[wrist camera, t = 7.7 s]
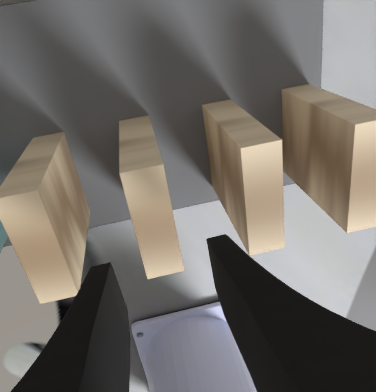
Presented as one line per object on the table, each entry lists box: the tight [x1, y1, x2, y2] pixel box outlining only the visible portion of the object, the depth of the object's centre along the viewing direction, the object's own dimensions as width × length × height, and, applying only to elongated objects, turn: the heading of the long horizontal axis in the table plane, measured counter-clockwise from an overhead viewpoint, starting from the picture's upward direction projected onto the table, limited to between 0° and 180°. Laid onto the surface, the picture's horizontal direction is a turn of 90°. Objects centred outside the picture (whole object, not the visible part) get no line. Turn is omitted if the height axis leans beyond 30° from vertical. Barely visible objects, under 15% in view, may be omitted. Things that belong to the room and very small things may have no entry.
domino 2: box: [119, 115, 184, 279], centre depth 17 cm, size 5×2×7 cm, turn 9°
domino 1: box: [0, 132, 90, 304], centre depth 17 cm, size 5×2×7 cm, turn 9°
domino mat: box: [0, 0, 323, 247], centre depth 19 cm, size 12×22×1 cm, turn 99°
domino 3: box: [202, 99, 285, 256], centre depth 18 cm, size 5×2×7 cm, turn 9°
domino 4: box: [282, 84, 376, 233], centre depth 18 cm, size 5×2×7 cm, turn 9°
